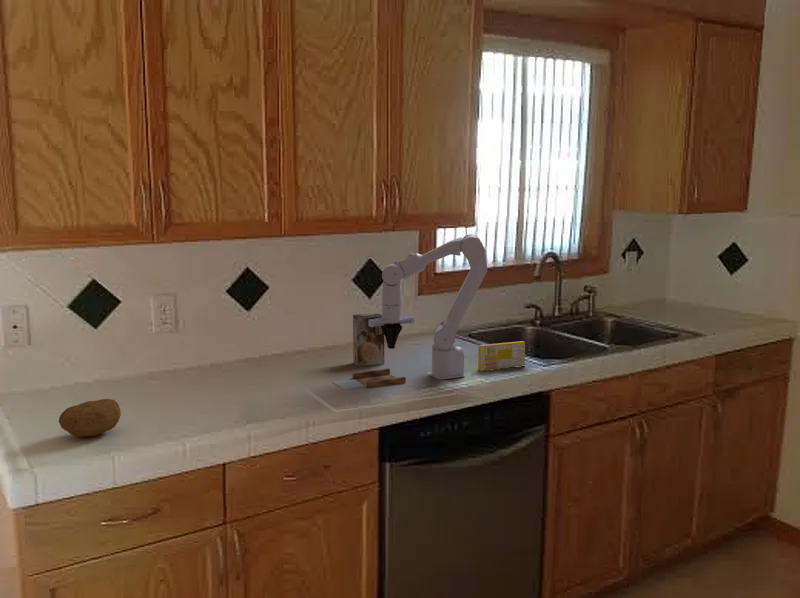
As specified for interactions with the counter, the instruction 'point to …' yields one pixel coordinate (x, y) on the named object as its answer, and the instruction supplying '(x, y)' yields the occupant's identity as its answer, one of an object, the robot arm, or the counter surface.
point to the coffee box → (367, 341)
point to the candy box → (501, 355)
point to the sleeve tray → (377, 378)
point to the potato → (90, 418)
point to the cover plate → (349, 384)
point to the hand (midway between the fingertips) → (391, 348)
